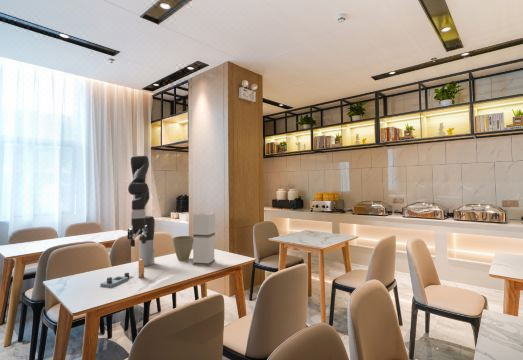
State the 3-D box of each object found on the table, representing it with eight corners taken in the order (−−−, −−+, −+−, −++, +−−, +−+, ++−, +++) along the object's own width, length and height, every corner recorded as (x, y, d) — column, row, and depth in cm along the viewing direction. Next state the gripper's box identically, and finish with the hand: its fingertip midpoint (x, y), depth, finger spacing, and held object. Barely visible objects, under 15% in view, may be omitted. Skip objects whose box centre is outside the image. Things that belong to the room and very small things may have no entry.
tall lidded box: (214, 262, 205) (214, 212, 205) (208, 266, 194) (208, 214, 195) (200, 261, 208) (200, 212, 208) (193, 265, 197) (193, 214, 197)
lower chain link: (124, 278, 171) (124, 271, 171) (134, 279, 169) (134, 272, 169) (108, 285, 159) (108, 278, 159) (118, 286, 157) (118, 279, 157)
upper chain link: (111, 290, 152) (111, 280, 152) (100, 289, 154) (100, 278, 154) (128, 282, 164) (128, 272, 164) (117, 281, 166) (118, 271, 166)
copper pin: (140, 278, 170) (140, 258, 170) (145, 279, 169) (145, 258, 169) (137, 280, 167) (137, 259, 167) (141, 281, 166) (141, 260, 166)
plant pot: (168, 261, 207) (168, 239, 207) (180, 256, 221) (180, 235, 222) (186, 263, 203) (186, 240, 203) (197, 257, 217) (197, 236, 217)
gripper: (142, 215, 175) (142, 242, 175) (123, 218, 162) (123, 247, 162) (152, 215, 173) (152, 242, 173) (134, 218, 160) (134, 248, 159)
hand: (138, 244), depth 167 cm, fingers open, 8 cm apart
